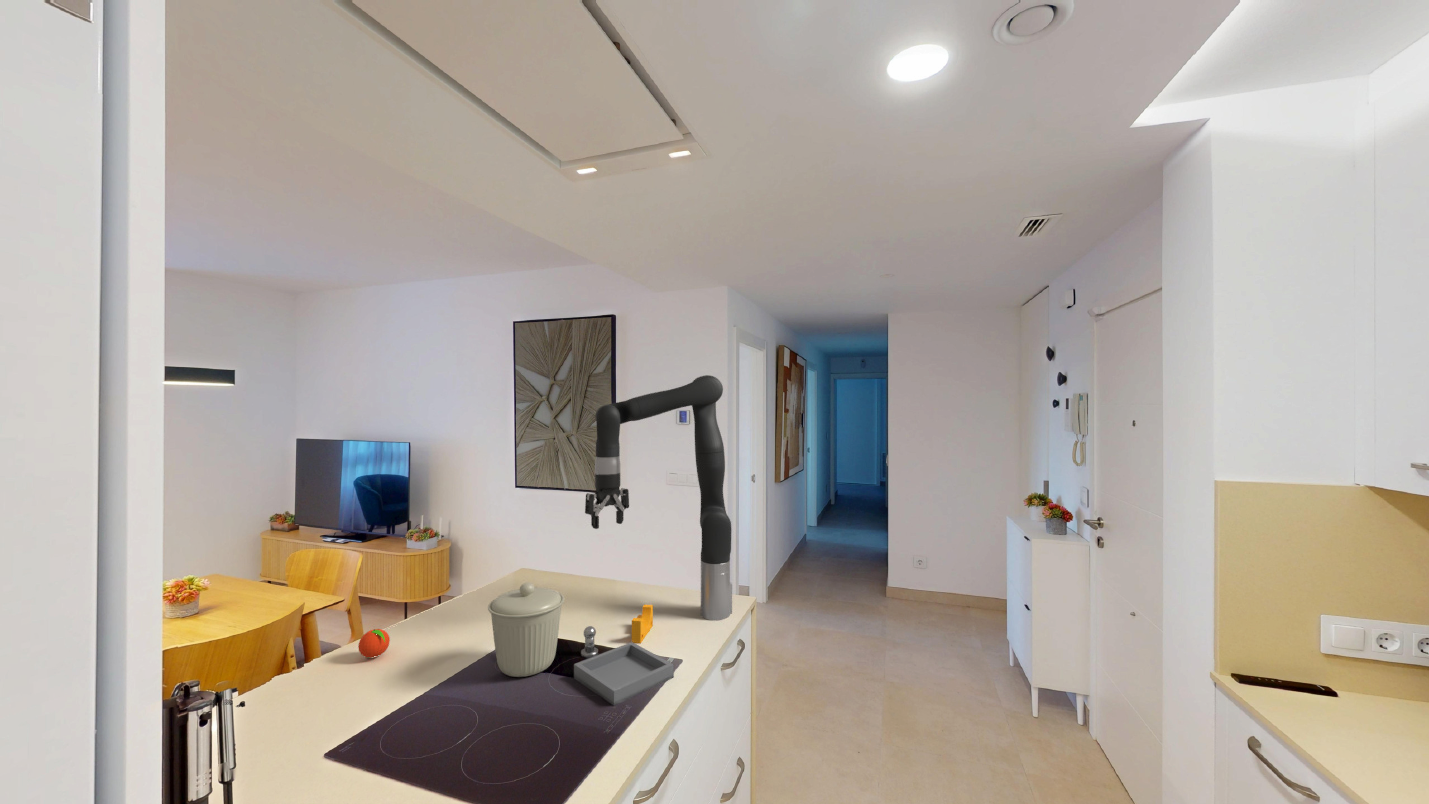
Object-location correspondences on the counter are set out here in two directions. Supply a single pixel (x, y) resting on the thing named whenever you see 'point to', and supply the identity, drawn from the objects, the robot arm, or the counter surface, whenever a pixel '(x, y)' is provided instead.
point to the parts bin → (623, 672)
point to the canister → (526, 629)
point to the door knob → (589, 643)
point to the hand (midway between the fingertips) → (607, 525)
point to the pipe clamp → (642, 624)
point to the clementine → (374, 643)
